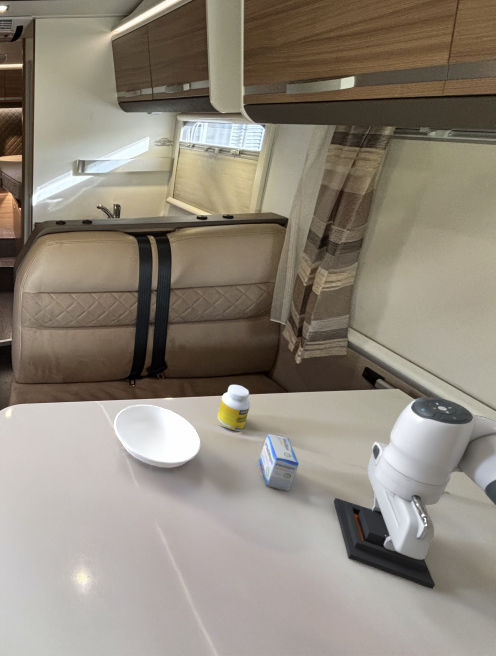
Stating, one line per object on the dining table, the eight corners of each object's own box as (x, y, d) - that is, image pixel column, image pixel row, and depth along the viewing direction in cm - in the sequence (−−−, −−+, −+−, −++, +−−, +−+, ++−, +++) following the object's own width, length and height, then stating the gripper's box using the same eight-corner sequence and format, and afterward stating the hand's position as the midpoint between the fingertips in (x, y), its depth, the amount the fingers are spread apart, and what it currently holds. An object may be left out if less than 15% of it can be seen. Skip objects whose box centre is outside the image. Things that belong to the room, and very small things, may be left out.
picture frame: (406, 525, 87) (411, 515, 86) (432, 589, 76) (438, 579, 75) (333, 501, 93) (337, 492, 92) (348, 558, 81) (352, 548, 80)
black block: (394, 530, 85) (400, 519, 84) (404, 557, 80) (410, 546, 79) (356, 517, 87) (361, 507, 86) (364, 542, 83) (369, 532, 81)
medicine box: (258, 460, 103) (266, 432, 100) (279, 465, 102) (288, 437, 99) (266, 486, 96) (275, 457, 93) (289, 492, 95) (299, 462, 92)
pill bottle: (229, 436, 111) (238, 400, 106) (210, 419, 117) (218, 384, 112) (249, 431, 112) (259, 395, 108) (230, 415, 118) (238, 380, 114)
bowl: (207, 488, 96) (212, 467, 94) (116, 478, 99) (119, 457, 97) (183, 427, 114) (187, 408, 112) (107, 419, 117) (109, 401, 115)
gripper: (456, 532, 68) (424, 588, 73) (412, 447, 85) (388, 497, 90) (404, 515, 71) (377, 570, 76) (371, 436, 87) (350, 485, 93)
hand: (382, 530), depth 83 cm, fingers closed on black block, 6 cm apart
